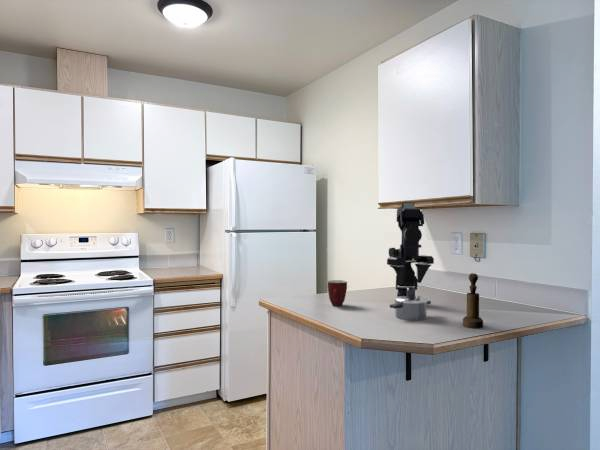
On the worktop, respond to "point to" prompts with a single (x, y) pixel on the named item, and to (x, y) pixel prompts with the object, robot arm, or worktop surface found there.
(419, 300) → the lid
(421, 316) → the pot
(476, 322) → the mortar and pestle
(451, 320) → the worktop surface
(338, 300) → the mug
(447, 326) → the worktop surface
